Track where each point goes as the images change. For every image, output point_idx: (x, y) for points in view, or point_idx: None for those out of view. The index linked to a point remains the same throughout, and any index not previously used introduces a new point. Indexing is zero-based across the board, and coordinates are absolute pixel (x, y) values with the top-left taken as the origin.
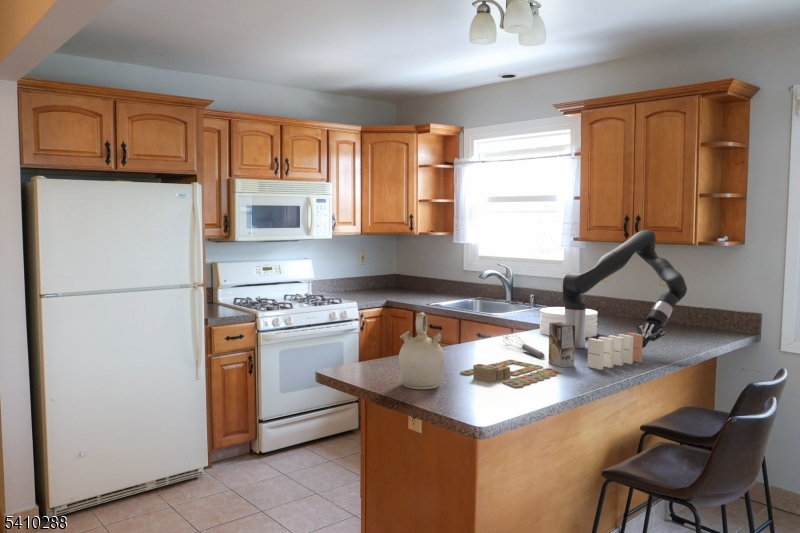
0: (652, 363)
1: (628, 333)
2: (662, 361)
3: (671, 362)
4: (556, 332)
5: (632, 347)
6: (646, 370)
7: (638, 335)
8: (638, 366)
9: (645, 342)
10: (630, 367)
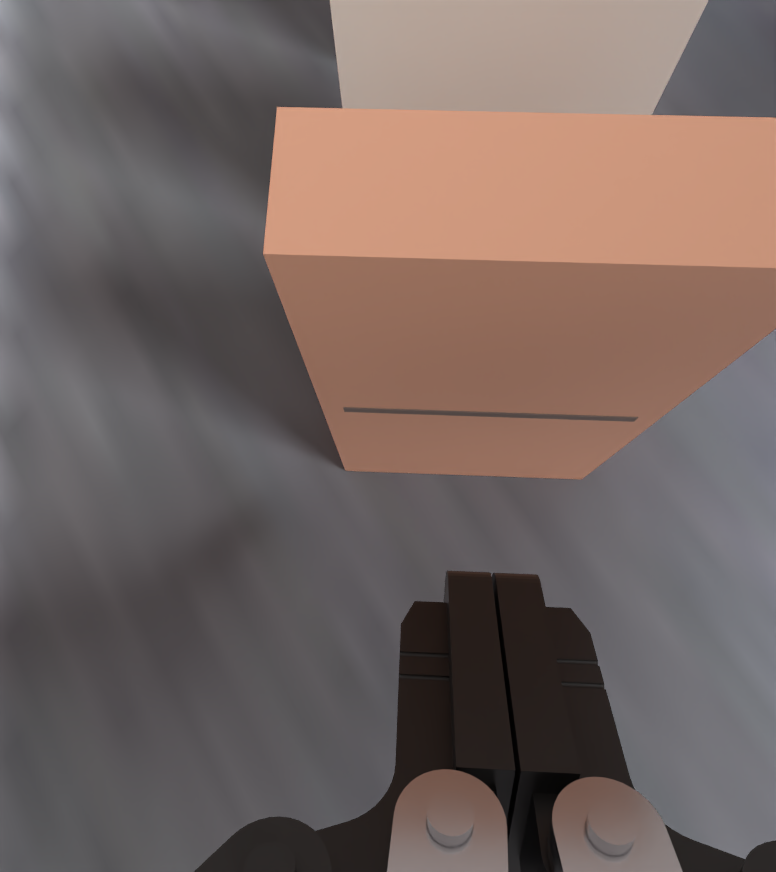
0: (180, 505)
1: (763, 124)
2: (146, 799)
3: (4, 862)
4: None
5: (341, 70)
6: (33, 77)
7: (341, 121)
8: (211, 178)
9: (400, 676)
10: (246, 58)
